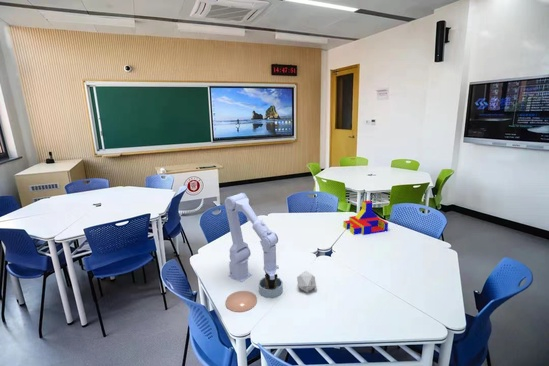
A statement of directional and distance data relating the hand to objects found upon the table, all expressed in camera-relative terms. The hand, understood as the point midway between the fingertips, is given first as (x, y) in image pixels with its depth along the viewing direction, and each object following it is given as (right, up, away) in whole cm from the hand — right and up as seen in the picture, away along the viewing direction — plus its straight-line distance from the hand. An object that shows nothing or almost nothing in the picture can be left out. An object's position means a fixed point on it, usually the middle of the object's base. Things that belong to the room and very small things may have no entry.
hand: (270, 284), depth 134 cm
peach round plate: (-13, -5, -6) cm, 16 cm away
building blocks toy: (+66, +15, +69) cm, 96 cm away
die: (+17, -3, +2) cm, 17 cm away
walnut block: (0, -3, +1) cm, 3 cm away
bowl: (0, -4, +1) cm, 4 cm away
